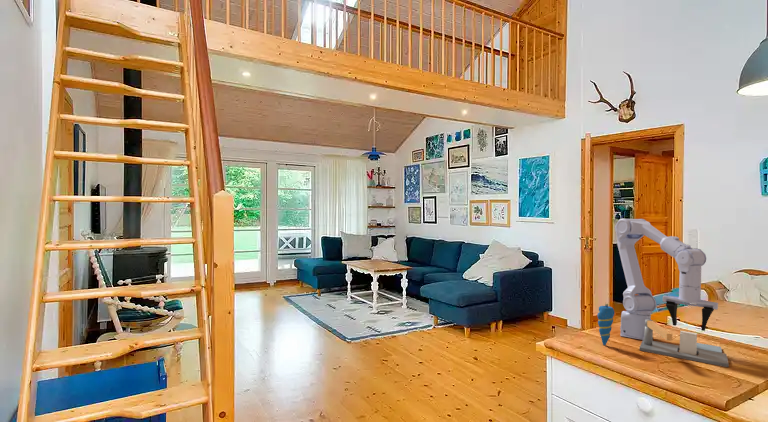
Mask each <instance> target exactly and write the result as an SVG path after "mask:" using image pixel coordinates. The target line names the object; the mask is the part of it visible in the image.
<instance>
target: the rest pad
mask: <svg viewBox="0 0 768 422" xmlns="http://www.w3.org/2000/svg"><path fill="white" fill-rule="evenodd" d="M697 349H702V350H707V351H713V352H719V353H723V351H722V350H723V349H722V347H721V346H718V345H714V344H712V345H711V344H708V343H707V344H706V343H700V342H697Z"/></svg>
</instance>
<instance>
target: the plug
mask: <svg viewBox="0 0 768 422" xmlns="http://www.w3.org/2000/svg"><path fill="white" fill-rule="evenodd" d="M697 343H698V333H697V332H692V331H684V330H680V333H679V346H680V351H679V352H681V353H686V354H692V355H697V354H696V350H697Z"/></svg>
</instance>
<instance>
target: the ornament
mask: <svg viewBox="0 0 768 422" xmlns="http://www.w3.org/2000/svg"><path fill="white" fill-rule="evenodd" d="M596 316H597V319H598V320H597V324H598V327H599V328H598V333H599V335H600V338H601V341H602V342H601V343H602V345H603V346H607V343H608V341H609V340H610V337H611V331H612V325H613V323H614V316H615V309H614V308H613V307H612V306H609V303H605V304H604V305H600V306H599V307H598V312H597V315H596Z"/></svg>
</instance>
